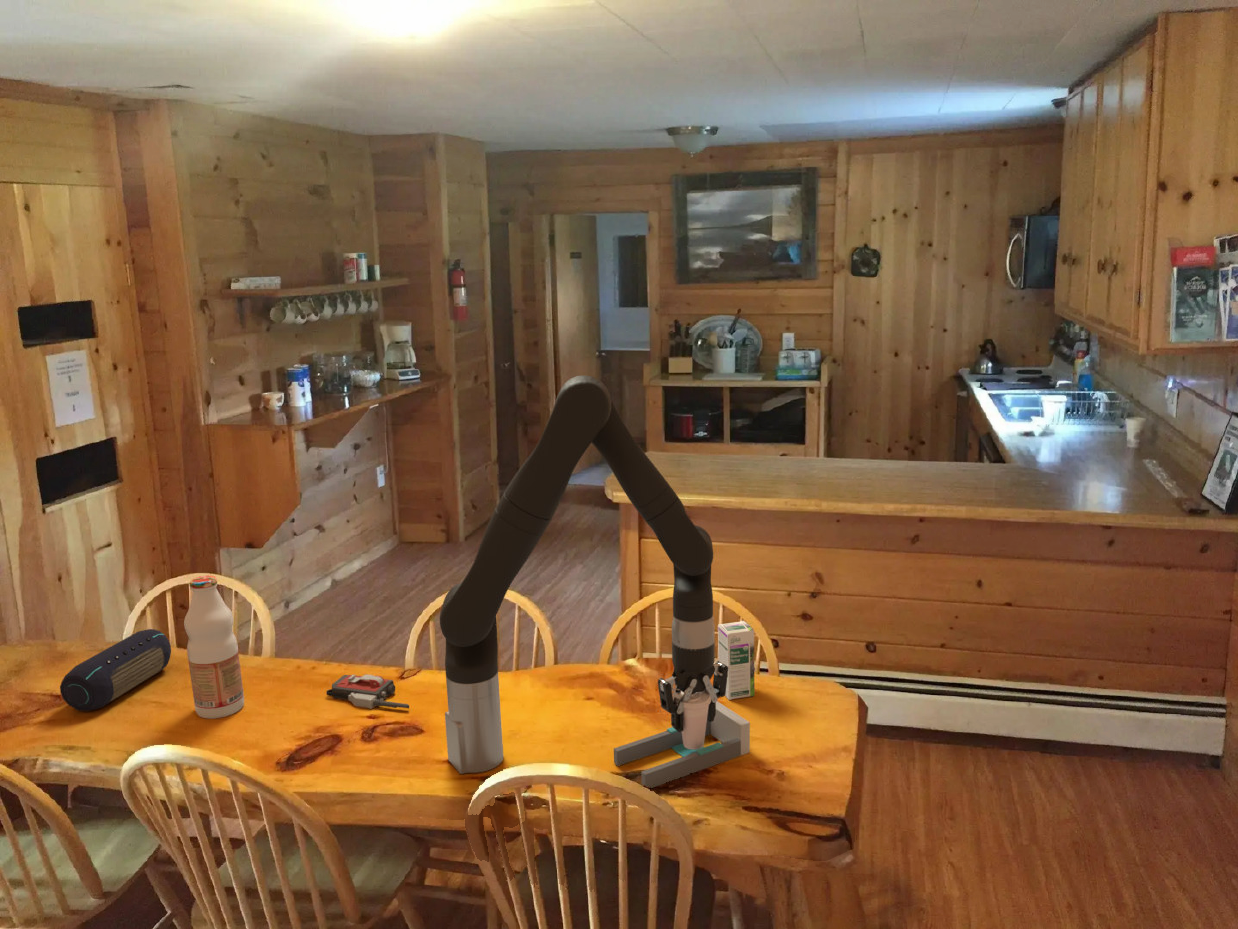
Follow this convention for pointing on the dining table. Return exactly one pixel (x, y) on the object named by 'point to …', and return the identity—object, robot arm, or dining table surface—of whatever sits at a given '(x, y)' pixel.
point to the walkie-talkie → (364, 691)
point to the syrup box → (737, 658)
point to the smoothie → (695, 720)
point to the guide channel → (724, 728)
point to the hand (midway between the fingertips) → (693, 724)
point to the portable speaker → (115, 670)
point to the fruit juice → (212, 652)
